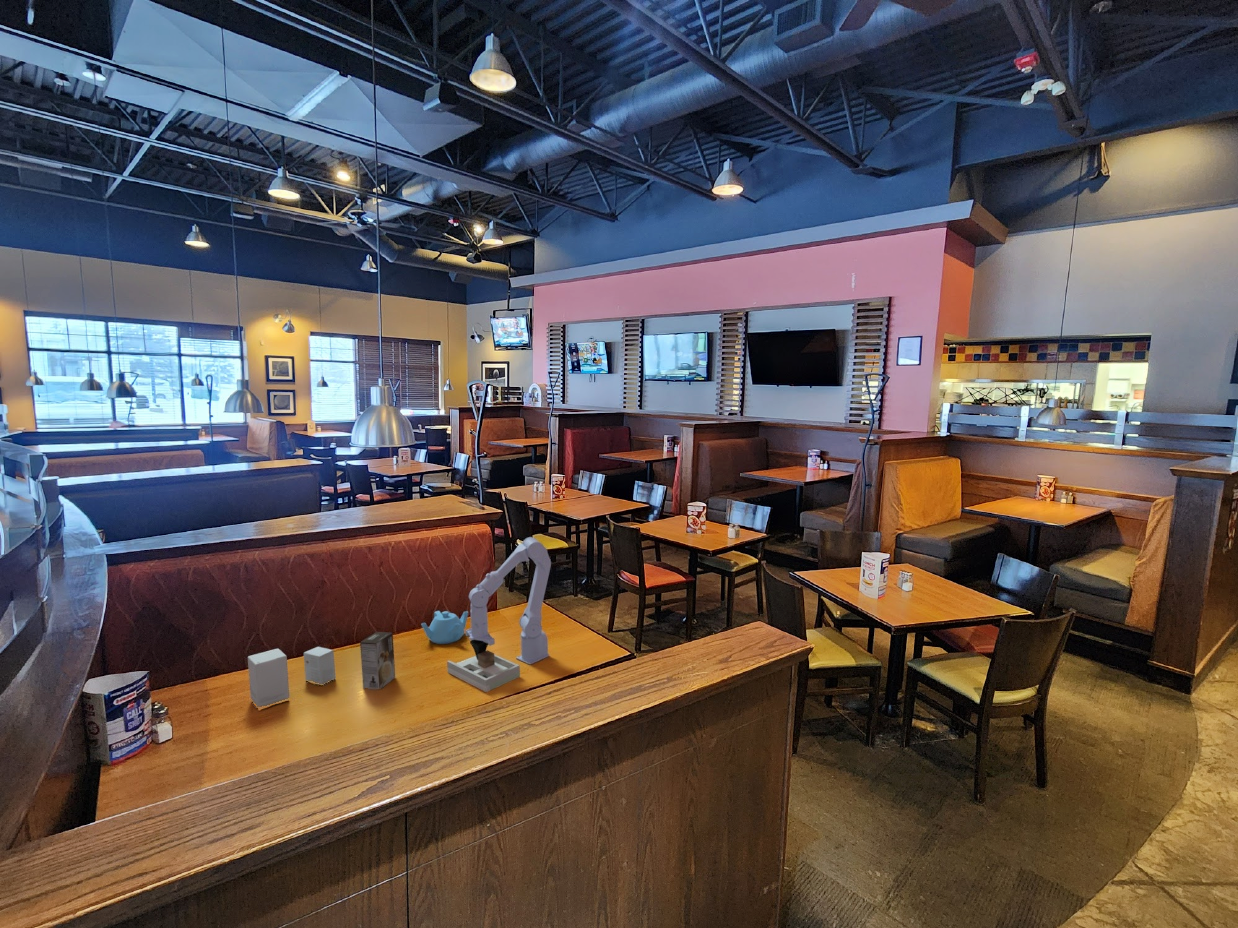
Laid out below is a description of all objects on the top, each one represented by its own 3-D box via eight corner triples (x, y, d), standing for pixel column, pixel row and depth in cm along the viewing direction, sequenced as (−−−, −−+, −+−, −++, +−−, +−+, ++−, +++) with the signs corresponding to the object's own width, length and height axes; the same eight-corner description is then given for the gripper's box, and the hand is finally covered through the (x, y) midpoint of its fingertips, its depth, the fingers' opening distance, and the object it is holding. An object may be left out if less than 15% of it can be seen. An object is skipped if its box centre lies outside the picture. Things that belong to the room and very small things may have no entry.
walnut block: (487, 661, 204) (487, 650, 204) (494, 664, 202) (494, 653, 201) (478, 664, 201) (477, 653, 201) (485, 668, 199) (484, 657, 198)
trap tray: (481, 658, 211) (480, 648, 211) (519, 676, 197) (519, 665, 196) (447, 672, 200) (447, 661, 200) (486, 692, 186) (485, 680, 186)
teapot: (471, 630, 238) (470, 605, 237) (460, 645, 223) (459, 618, 222) (434, 630, 238) (433, 605, 237) (421, 645, 224) (419, 618, 222)
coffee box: (379, 675, 198) (376, 630, 197) (395, 677, 197) (393, 632, 196) (362, 688, 189) (359, 641, 188) (379, 690, 188) (377, 643, 187)
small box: (336, 679, 196) (334, 649, 195) (321, 686, 191) (319, 656, 190) (319, 675, 200) (317, 645, 198) (305, 682, 194) (303, 652, 193)
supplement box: (290, 701, 182) (287, 655, 180) (258, 711, 176) (254, 664, 174) (282, 691, 188) (278, 647, 187) (250, 701, 182) (246, 655, 180)
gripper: (457, 620, 204) (459, 657, 206) (482, 630, 195) (483, 669, 196) (474, 615, 210) (475, 650, 211) (499, 624, 200) (500, 662, 201)
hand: (480, 659), depth 204 cm, fingers closed
